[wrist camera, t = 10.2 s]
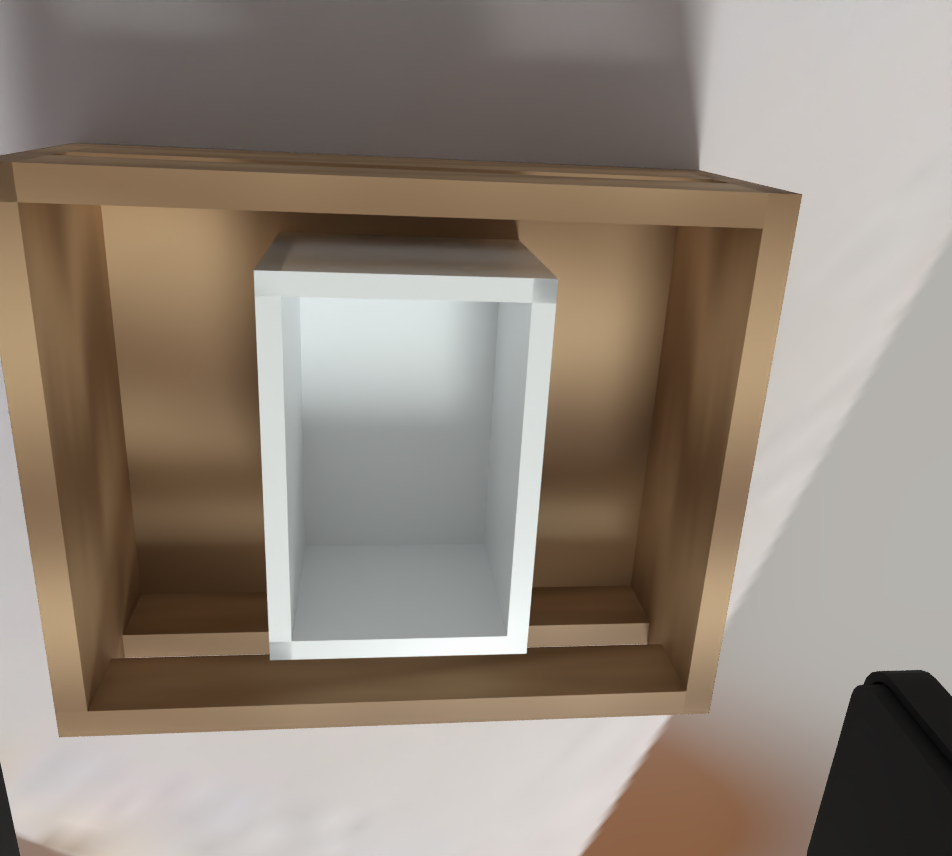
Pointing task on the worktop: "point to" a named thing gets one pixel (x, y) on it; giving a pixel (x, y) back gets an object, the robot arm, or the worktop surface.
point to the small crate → (401, 442)
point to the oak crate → (239, 441)
